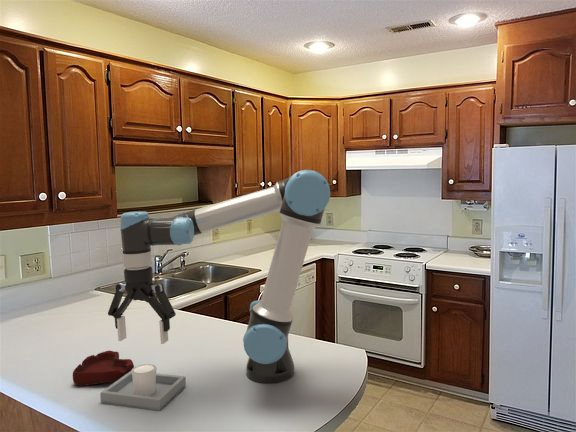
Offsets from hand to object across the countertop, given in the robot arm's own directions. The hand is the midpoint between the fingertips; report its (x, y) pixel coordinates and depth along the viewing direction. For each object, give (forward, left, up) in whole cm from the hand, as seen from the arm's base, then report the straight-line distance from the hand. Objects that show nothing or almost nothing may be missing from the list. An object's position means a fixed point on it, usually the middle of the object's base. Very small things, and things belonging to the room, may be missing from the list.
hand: (143, 340), depth 128 cm
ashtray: (+20, -6, -16) cm, 27 cm away
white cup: (0, 0, -15) cm, 15 cm away
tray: (0, 0, -16) cm, 16 cm away
